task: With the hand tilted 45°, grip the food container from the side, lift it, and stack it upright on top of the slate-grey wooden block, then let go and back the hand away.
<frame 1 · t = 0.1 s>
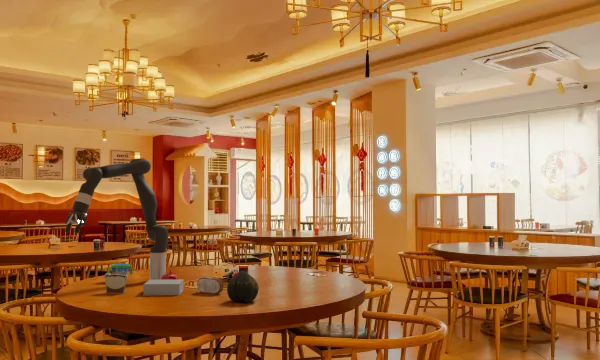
hand: (71, 232, 260), 31 cm above the table, fingers open, 8 cm apart
slate block: (163, 293, 267), on the table
squash: (242, 301, 245), on the table
food container: (117, 292, 266), on the table
tin: (209, 293, 266), on the table
pomegranate: (169, 286, 287), on the table
snack cup: (120, 281, 304), on the table
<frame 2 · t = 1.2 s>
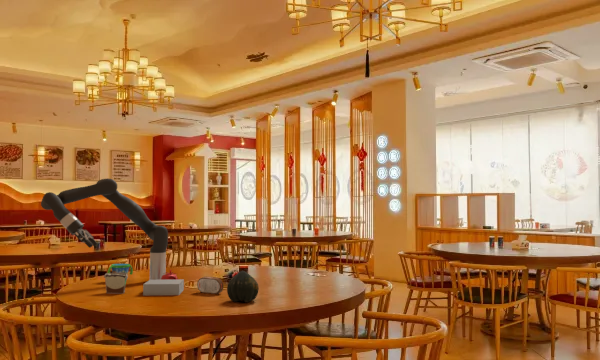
hand: (94, 245, 266), 24 cm above the table, fingers open, 8 cm apart
nothing on the table moved.
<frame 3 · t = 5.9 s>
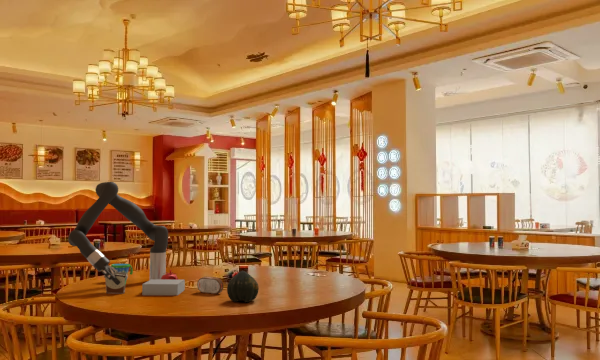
hand: (120, 282, 267), 5 cm above the table, fingers closed on food container, 6 cm apart
food container: (117, 292, 266), on the table, touching gripper
everything else where it was.
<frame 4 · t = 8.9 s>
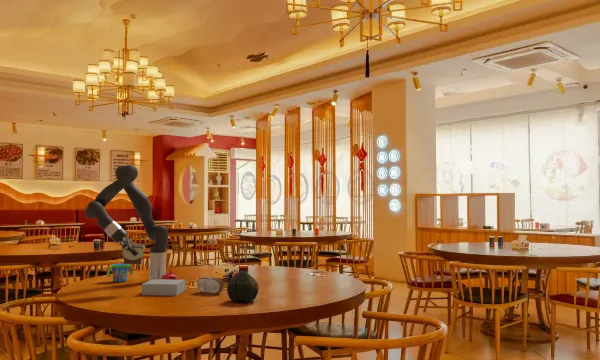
hand: (138, 254, 268), 20 cm above the table, fingers closed on food container, 6 cm apart
food container: (134, 264, 268), point 15 cm above the table, touching gripper
everything else where it was.
when the fingers open (12 cm above the table, at t = 11.9 s): food container drops 2 cm, resting on slate block.
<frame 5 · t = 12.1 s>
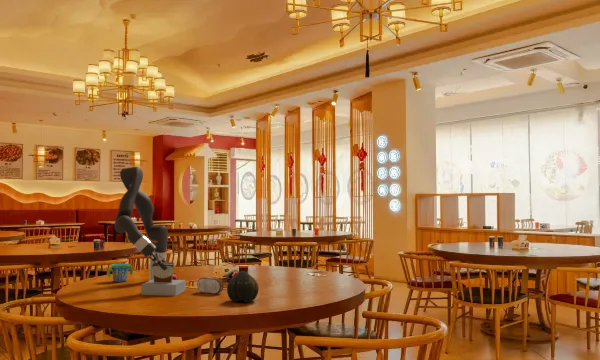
hand: (167, 268, 268), 13 cm above the table, fingers open, 8 cm apart
slate block: (164, 293, 267), on the table, touching food container
food container: (164, 282, 268), point 5 cm above the table, touching gripper, slate block
everything else where it was.
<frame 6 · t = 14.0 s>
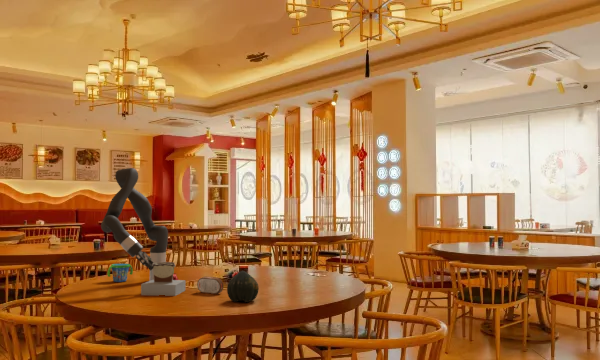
hand: (153, 268, 267), 13 cm above the table, fingers open, 8 cm apart
food container: (164, 282, 268), point 5 cm above the table, touching slate block
everything else where it was.
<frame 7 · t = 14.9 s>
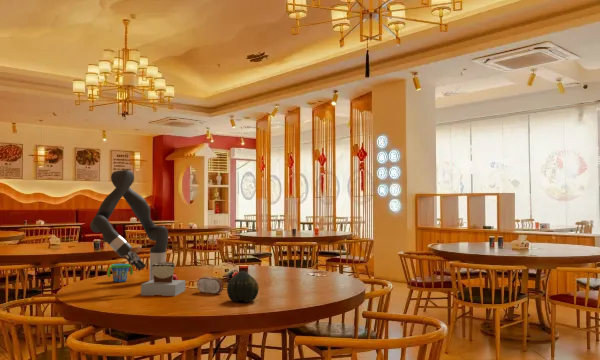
hand: (143, 268, 266), 13 cm above the table, fingers open, 8 cm apart
nothing on the table moved.
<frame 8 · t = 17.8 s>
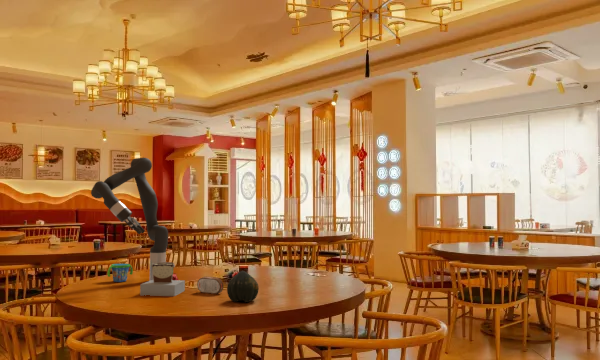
hand: (142, 232, 277), 31 cm above the table, fingers open, 8 cm apart
at the end: food container inside the target area on the slate block (1.5 cm from its centre), point 5.8 cm above the slate block's base; food container tilted 0°; food container touching slate block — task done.
